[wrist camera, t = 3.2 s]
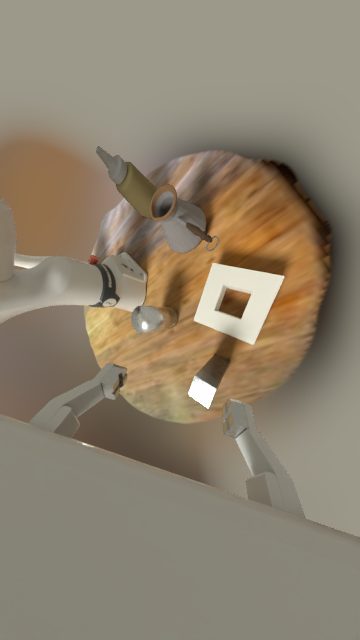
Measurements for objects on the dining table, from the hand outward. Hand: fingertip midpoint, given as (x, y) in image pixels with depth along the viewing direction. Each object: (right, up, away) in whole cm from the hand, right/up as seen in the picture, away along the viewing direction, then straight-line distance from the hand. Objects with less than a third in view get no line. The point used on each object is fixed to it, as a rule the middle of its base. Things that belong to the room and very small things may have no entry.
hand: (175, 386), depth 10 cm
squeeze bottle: (-7, +41, +32) cm, 52 cm away
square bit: (+11, -6, +25) cm, 28 cm away
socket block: (+14, +9, +22) cm, 28 cm away
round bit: (-3, +6, +32) cm, 32 cm away
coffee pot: (+6, +25, +26) cm, 37 cm away
